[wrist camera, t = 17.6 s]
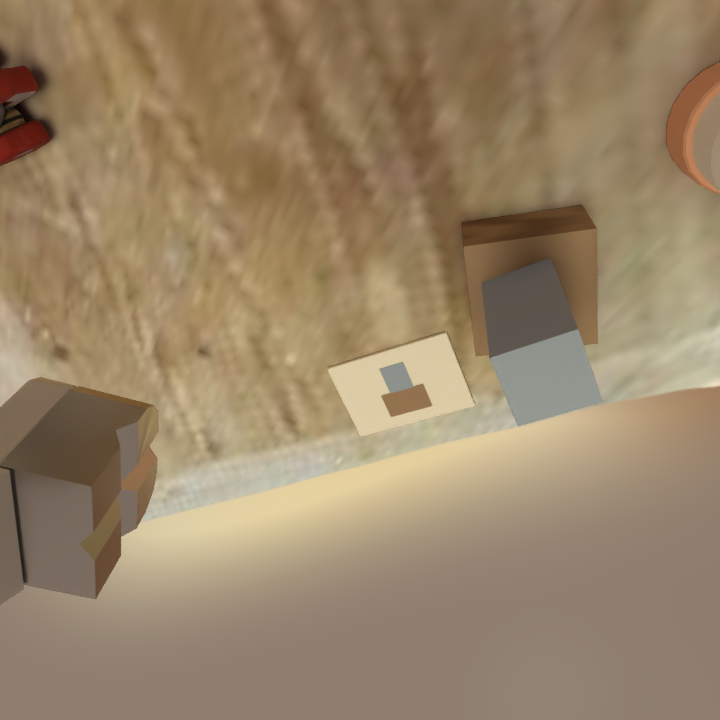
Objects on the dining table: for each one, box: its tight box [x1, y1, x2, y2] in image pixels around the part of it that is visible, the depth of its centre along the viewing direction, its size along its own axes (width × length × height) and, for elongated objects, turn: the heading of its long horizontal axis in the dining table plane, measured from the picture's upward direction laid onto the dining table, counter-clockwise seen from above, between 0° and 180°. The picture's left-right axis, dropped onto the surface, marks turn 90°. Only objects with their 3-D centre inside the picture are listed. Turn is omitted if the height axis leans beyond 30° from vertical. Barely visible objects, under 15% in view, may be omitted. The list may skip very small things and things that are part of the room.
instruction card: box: [327, 331, 475, 436], centre depth 51 cm, size 10×7×1 cm
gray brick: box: [481, 258, 603, 426], centre depth 37 cm, size 4×4×10 cm
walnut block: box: [462, 205, 598, 356], centre depth 43 cm, size 8×8×5 cm
